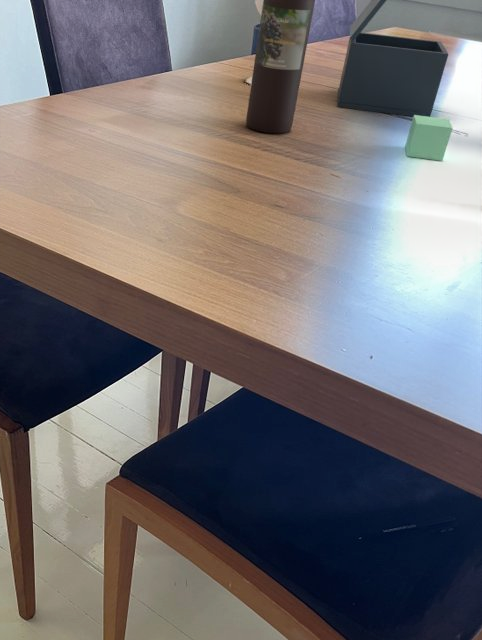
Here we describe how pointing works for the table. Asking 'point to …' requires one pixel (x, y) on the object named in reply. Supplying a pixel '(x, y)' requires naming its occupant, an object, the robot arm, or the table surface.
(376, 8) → the lid
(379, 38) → the cool box
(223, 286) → the table surface
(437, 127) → the mint toy cube
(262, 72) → the wine bottle
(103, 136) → the table surface
